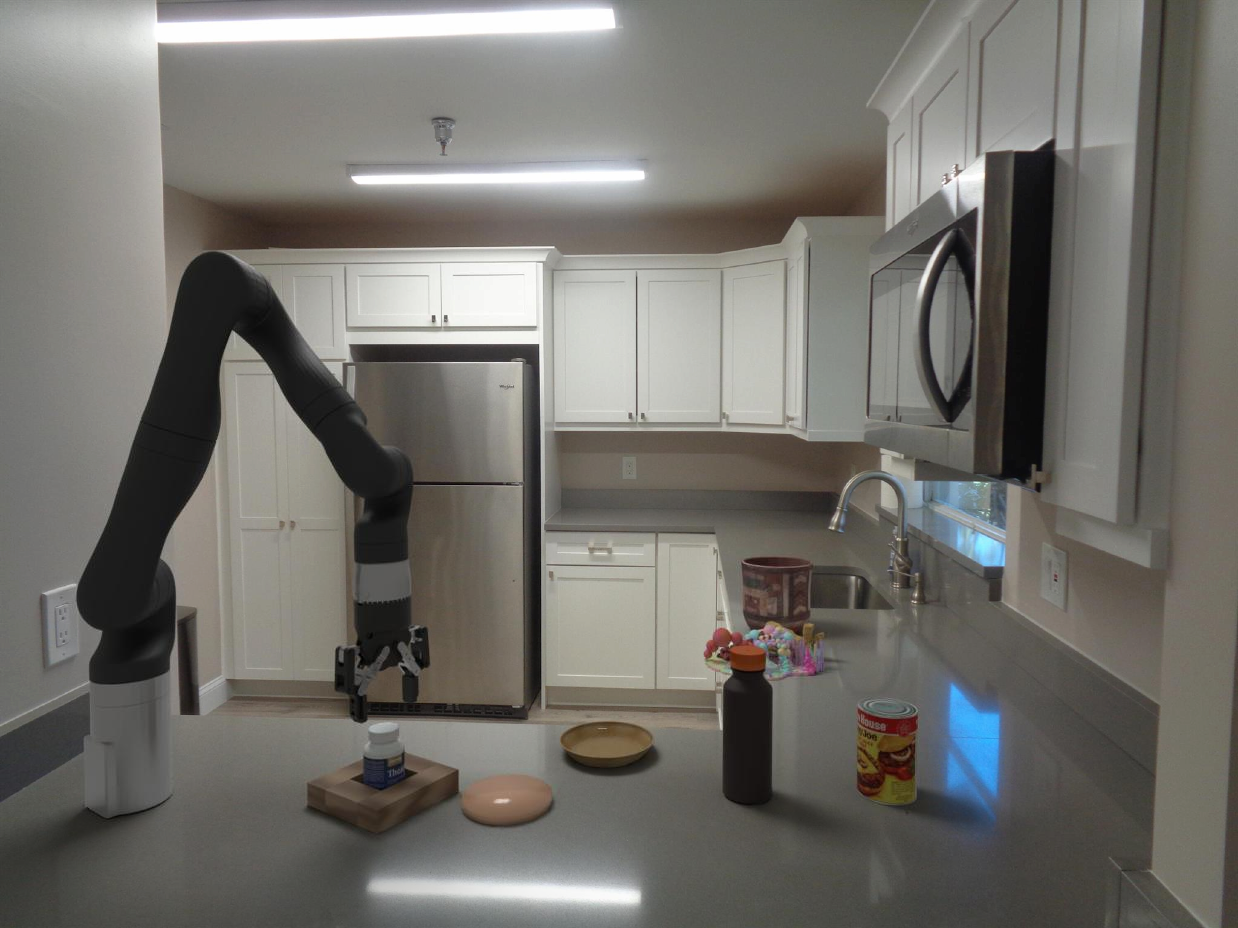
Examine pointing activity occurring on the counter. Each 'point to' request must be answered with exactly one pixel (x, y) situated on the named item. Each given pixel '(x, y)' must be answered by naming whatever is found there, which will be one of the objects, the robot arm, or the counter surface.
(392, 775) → the pill bottle
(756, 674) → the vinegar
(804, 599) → the pottery
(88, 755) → the robot arm
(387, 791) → the block
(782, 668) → the candy landscape model
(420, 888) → the counter surface
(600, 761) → the plant saucer
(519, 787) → the salmon pink disc
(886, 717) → the canned food
